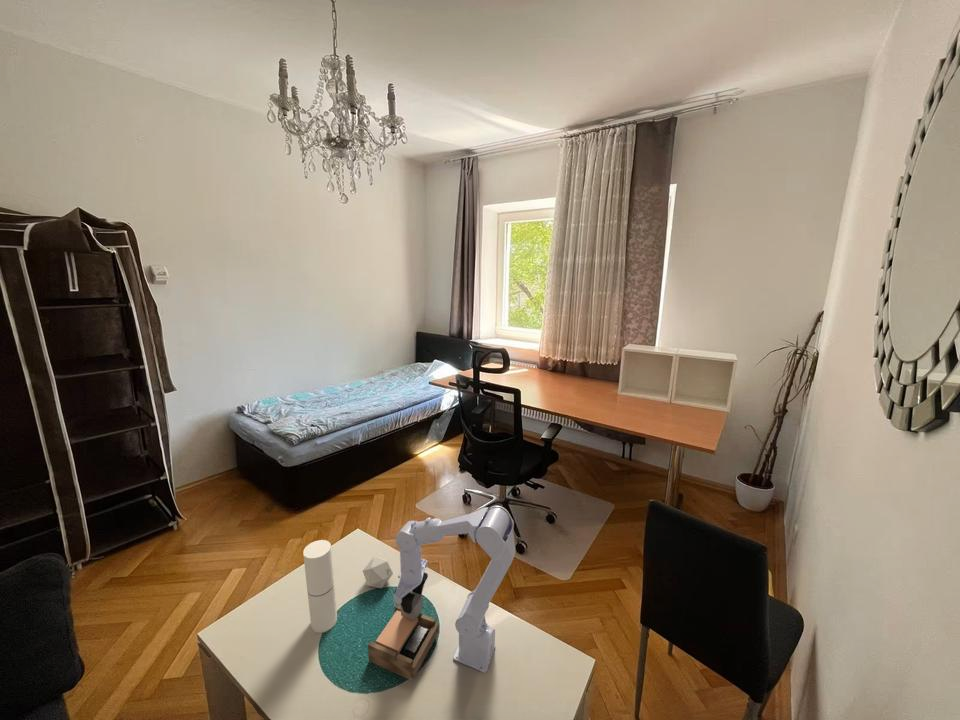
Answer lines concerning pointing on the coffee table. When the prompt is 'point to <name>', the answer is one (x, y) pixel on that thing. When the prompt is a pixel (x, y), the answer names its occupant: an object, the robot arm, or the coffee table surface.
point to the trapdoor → (402, 635)
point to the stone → (414, 607)
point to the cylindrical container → (320, 585)
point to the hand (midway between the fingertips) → (412, 604)
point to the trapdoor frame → (398, 661)
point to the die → (377, 572)
